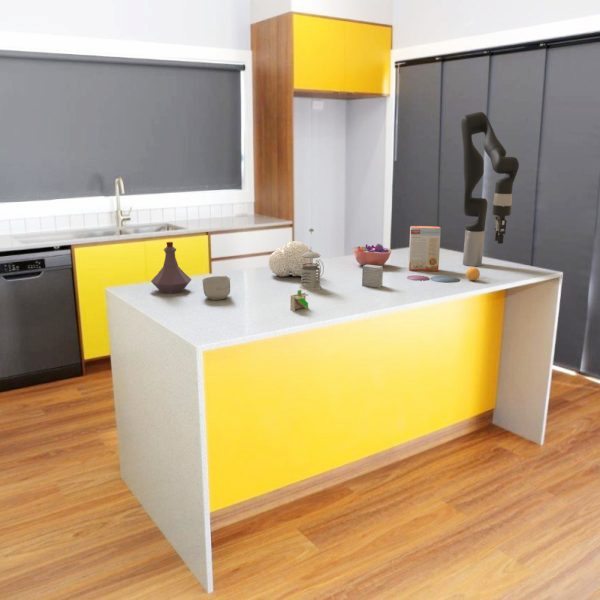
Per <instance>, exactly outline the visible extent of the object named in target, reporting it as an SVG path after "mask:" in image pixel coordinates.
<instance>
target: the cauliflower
mask: <svg viewBox="0 0 600 600" xmlns="http://www.w3.org/2000/svg"><path fill="white" fill-rule="evenodd" d="M310 251H311V248H309V246H308V245H306V244H305V243H304V242H300V241H297V240H296V241H295V240H293V241H290V242H288V243H285V245H283V246H282V249H281V248H279V247H278V248H277V249H275V250H274V251H273V252H272V253H271V254H270V256H269V258H268V266H269V269H270V271H271V272H272V273H273V274H274V275H276V276H278V277H282V278H283V277H288V276H290V274H291V276H292V277H301V275H302V274H301V268H302V267H304V266H303V264H305V263H314V258H304V257H302V256H301V255H302V254H304V253H305V252H310Z"/></svg>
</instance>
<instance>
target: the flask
mask: <svg viewBox="0 0 600 600" xmlns="http://www.w3.org/2000/svg"><path fill="white" fill-rule="evenodd" d="M173 245H174V242H173V241H166V247H164V249H163V251H164V253H165V257H164V262H163V266H162V267H161V269H160V270H159V271H158V273H157V274H156V275H155V276H154V277H153V278H152V279H151V280H150V282H151V283H152V285H154V286H155V287H156V289H158V291H160V292H162V293H164V294H177V293H182V292H183V291H184V290H185V288H186V287H188V285H189V284H190V282H191V281H192V278H191V277H190V276H189V275H188V274H187V273H185V271H184V270H183V269H181V268H180V266H179V264H178V261H177V257H176V251H177V248H176V247H174V246H173Z"/></svg>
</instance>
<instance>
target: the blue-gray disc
mask: <svg viewBox="0 0 600 600" xmlns="http://www.w3.org/2000/svg"><path fill="white" fill-rule="evenodd" d="M429 280H431V281H433V282H438V283H446V284H447V283H459V282H460V280H461V279H460V278H459V277H455V276H451V275H434V276H433V275H432V276H431V277H429Z"/></svg>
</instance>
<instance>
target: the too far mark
mask: <svg viewBox="0 0 600 600" xmlns="http://www.w3.org/2000/svg"><path fill="white" fill-rule="evenodd" d="M406 279H408V280H411V281H417V280H420V281H421V282H423V281H429V280H430V277H428V276H427V275H426V276H425V275H420V274H419V275H413V274H412V275H408V276H406ZM422 280H423V281H422ZM420 281H419V282H420Z"/></svg>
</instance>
